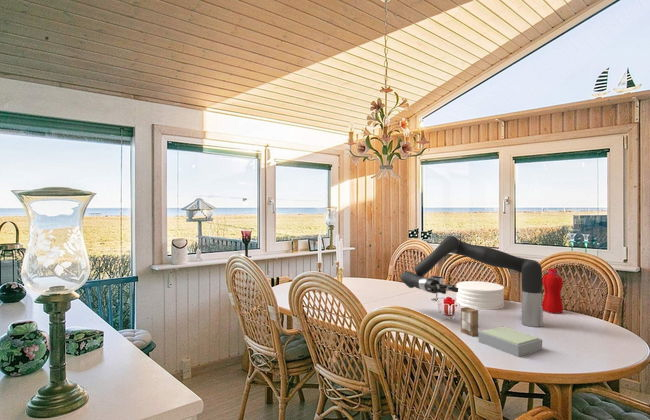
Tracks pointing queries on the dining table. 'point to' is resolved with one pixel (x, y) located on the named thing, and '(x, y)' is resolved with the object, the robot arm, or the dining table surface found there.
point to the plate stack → (480, 295)
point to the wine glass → (439, 282)
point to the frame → (469, 321)
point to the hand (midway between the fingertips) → (451, 291)
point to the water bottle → (552, 292)
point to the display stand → (510, 341)
